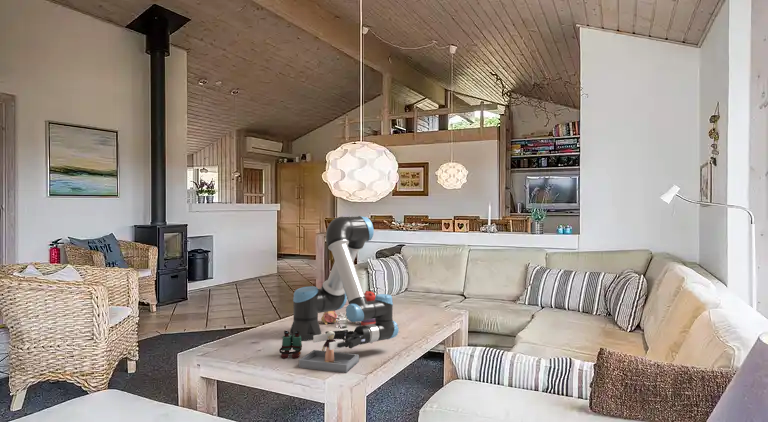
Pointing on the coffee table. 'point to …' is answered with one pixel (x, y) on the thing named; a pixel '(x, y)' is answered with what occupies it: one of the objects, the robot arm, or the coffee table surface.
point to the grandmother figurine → (329, 353)
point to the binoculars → (291, 345)
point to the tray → (340, 364)
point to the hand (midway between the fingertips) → (321, 342)
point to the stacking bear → (369, 297)
